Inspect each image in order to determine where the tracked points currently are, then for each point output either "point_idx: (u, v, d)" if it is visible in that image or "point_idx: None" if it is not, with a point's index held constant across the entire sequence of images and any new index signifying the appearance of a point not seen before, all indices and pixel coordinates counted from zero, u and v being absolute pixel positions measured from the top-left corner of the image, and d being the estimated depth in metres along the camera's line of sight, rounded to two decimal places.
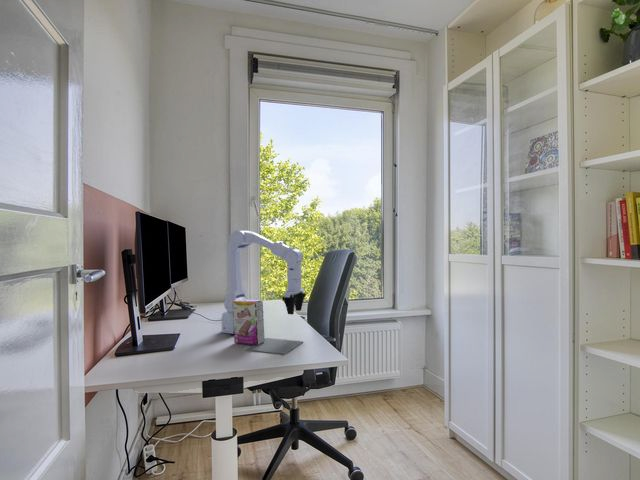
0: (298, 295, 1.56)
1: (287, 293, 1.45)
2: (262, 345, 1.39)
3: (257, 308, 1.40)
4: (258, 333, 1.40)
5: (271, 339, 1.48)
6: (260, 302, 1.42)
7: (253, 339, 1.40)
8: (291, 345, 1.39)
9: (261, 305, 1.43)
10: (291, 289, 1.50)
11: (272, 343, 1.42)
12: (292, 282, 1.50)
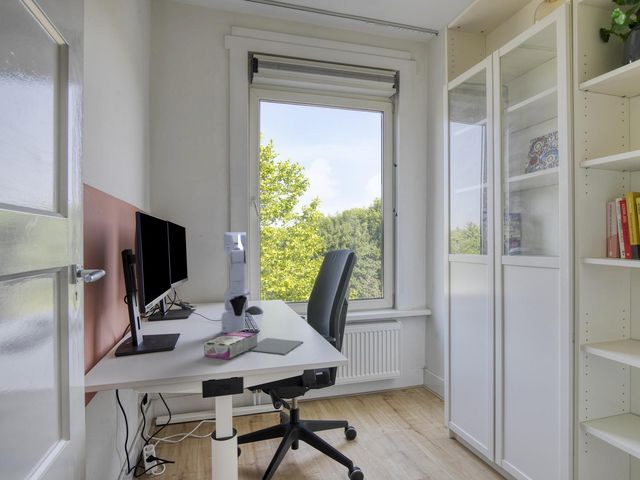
0: (238, 299, 1.45)
1: (227, 296, 1.38)
2: (262, 345, 1.39)
3: (234, 354, 1.27)
4: (250, 347, 1.35)
5: (271, 339, 1.48)
6: (230, 349, 1.25)
7: None
8: (291, 345, 1.39)
9: (232, 346, 1.26)
10: (233, 291, 1.43)
11: (272, 343, 1.42)
12: (234, 284, 1.43)
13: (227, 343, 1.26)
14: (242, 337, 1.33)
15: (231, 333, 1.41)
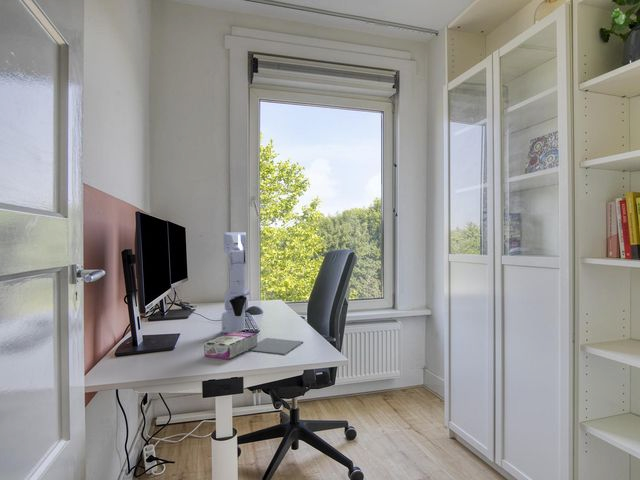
0: None
1: (227, 296, 1.38)
2: (262, 345, 1.39)
3: (234, 354, 1.27)
4: (250, 347, 1.35)
5: (271, 339, 1.48)
6: (230, 349, 1.25)
7: None
8: (291, 345, 1.39)
9: (232, 346, 1.26)
10: (233, 291, 1.43)
11: (272, 343, 1.42)
12: (234, 284, 1.43)
13: (227, 343, 1.26)
14: (242, 337, 1.33)
15: (231, 333, 1.41)
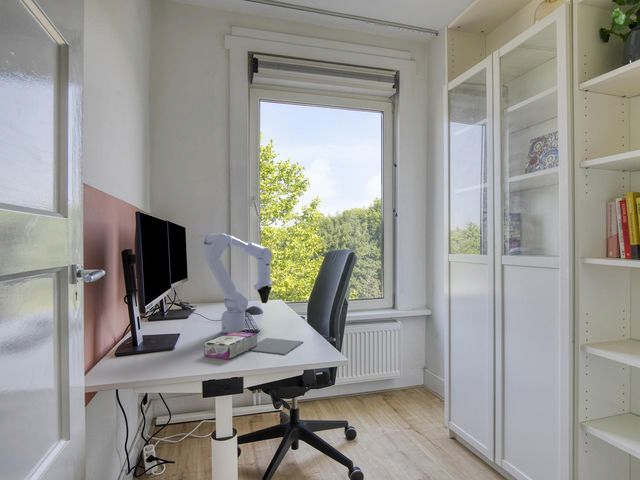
0: None
1: (256, 286, 1.66)
2: (262, 345, 1.39)
3: (234, 354, 1.27)
4: (250, 347, 1.35)
5: (271, 339, 1.48)
6: (230, 349, 1.25)
7: None
8: (291, 345, 1.39)
9: (232, 346, 1.26)
10: (261, 282, 1.70)
11: (272, 343, 1.42)
12: (261, 276, 1.70)
13: (227, 343, 1.26)
14: (242, 337, 1.33)
15: (231, 333, 1.41)
